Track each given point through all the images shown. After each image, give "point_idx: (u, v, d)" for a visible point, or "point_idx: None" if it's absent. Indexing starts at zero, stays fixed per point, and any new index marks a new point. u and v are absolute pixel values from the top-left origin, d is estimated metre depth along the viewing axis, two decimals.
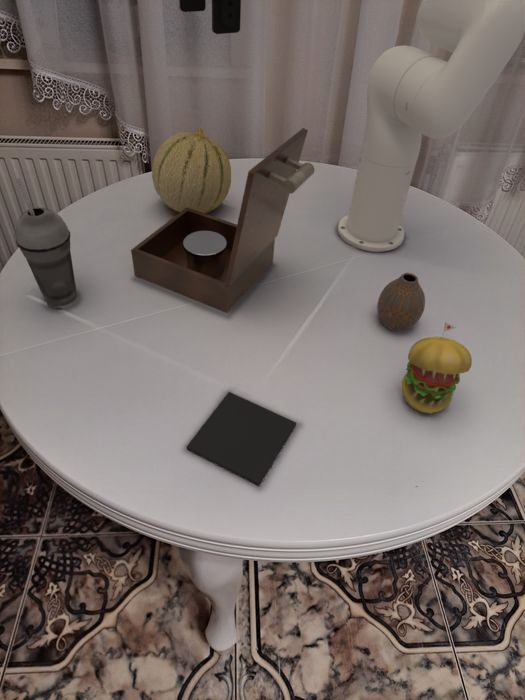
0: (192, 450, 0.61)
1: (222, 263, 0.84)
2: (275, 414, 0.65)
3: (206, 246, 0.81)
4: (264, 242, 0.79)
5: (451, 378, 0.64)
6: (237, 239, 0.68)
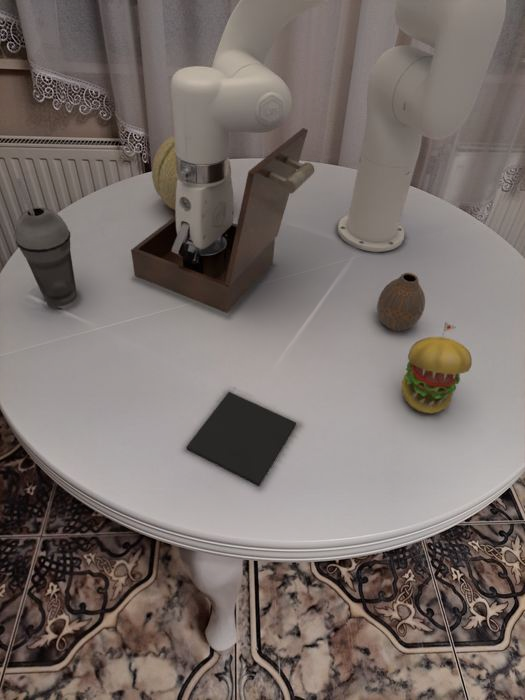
0: (192, 450, 0.61)
1: (222, 263, 0.84)
2: (275, 414, 0.65)
3: None
4: (264, 242, 0.79)
5: (451, 378, 0.64)
6: (237, 239, 0.68)
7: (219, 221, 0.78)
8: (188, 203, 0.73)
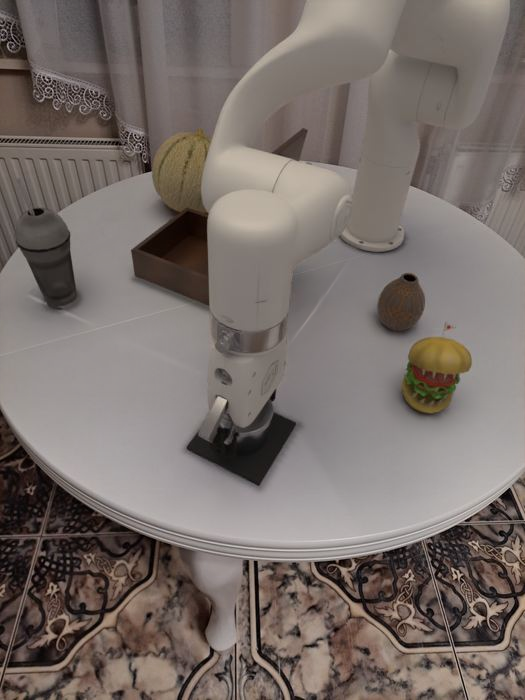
0: (192, 450, 0.61)
1: (266, 432, 0.61)
2: (275, 414, 0.65)
3: None
4: None
5: (451, 378, 0.64)
6: None
7: (268, 384, 0.54)
8: (228, 375, 0.49)
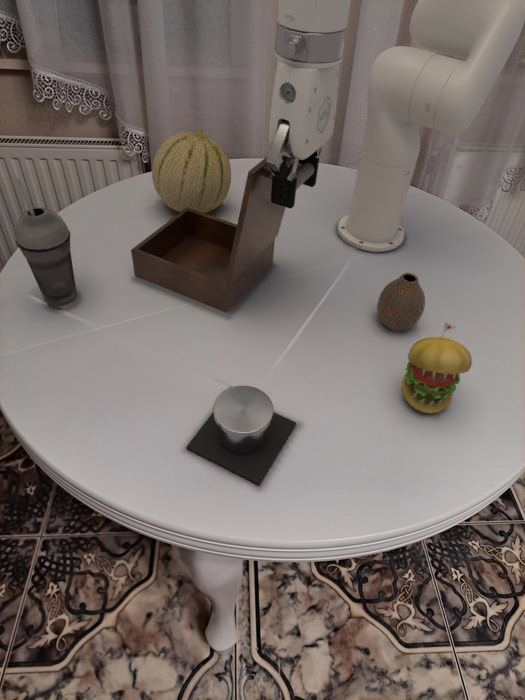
0: (192, 450, 0.61)
1: (266, 432, 0.61)
2: (275, 414, 0.65)
3: (246, 416, 0.58)
4: (264, 242, 0.79)
5: (451, 378, 0.64)
6: (237, 239, 0.68)
7: (322, 125, 0.61)
8: (291, 92, 0.56)
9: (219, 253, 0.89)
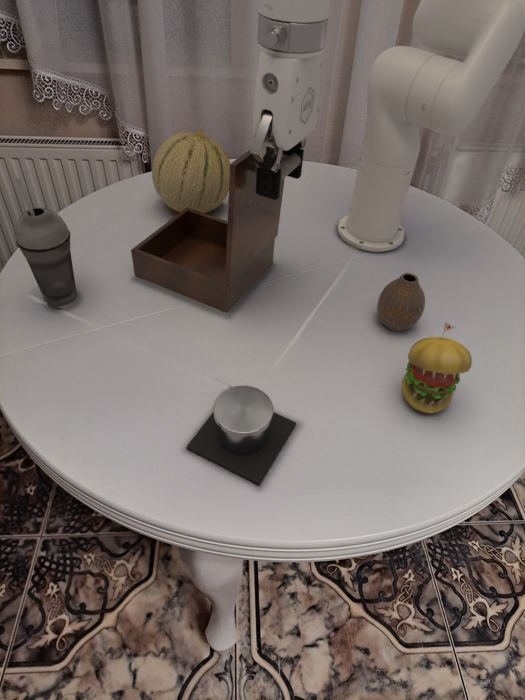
0: (192, 450, 0.61)
1: (266, 432, 0.61)
2: (275, 414, 0.65)
3: (246, 416, 0.58)
4: (263, 241, 0.79)
5: (451, 378, 0.64)
6: (230, 236, 0.68)
7: (305, 116, 0.61)
8: (274, 83, 0.56)
9: (219, 253, 0.89)
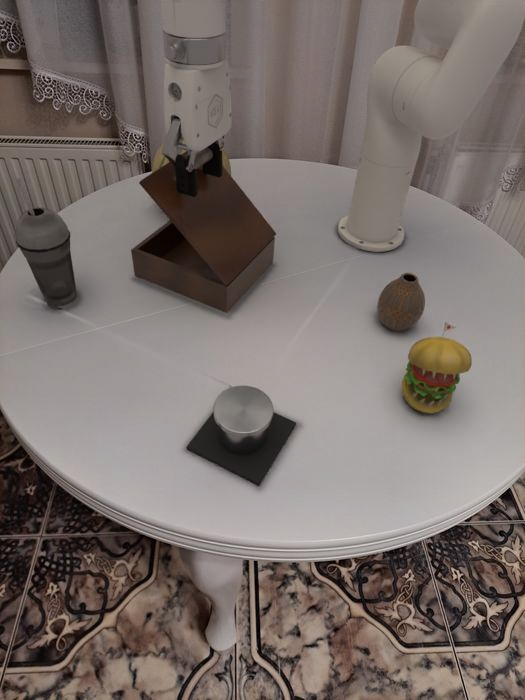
0: (192, 450, 0.61)
1: (266, 432, 0.61)
2: (275, 414, 0.65)
3: (246, 416, 0.58)
4: (253, 240, 0.80)
5: (451, 378, 0.64)
6: (188, 238, 0.72)
7: (215, 120, 0.67)
8: (178, 91, 0.62)
9: None
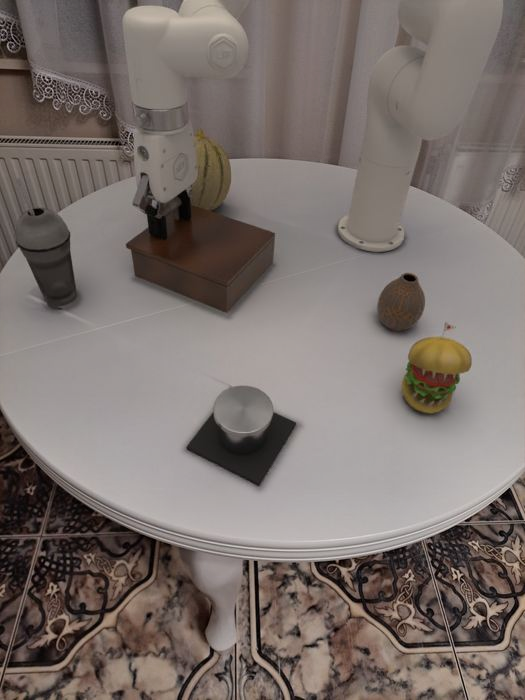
0: (192, 450, 0.61)
1: (266, 432, 0.61)
2: (275, 414, 0.65)
3: (246, 416, 0.58)
4: (248, 245, 0.81)
5: (451, 378, 0.64)
6: (179, 265, 0.77)
7: (181, 174, 0.76)
8: (146, 152, 0.71)
9: None
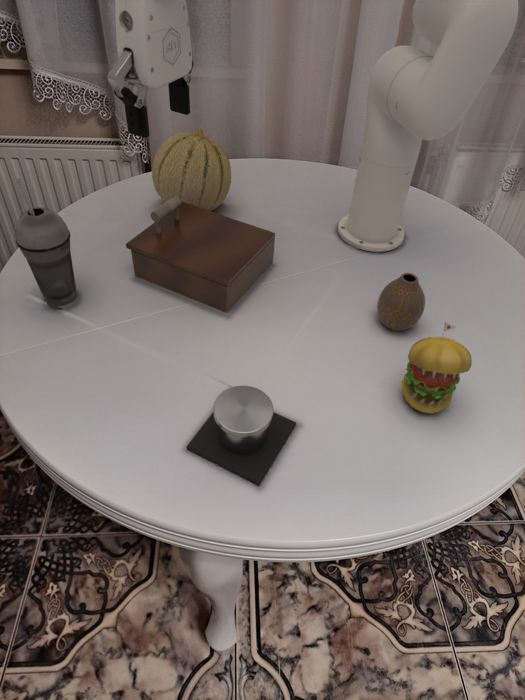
0: (192, 450, 0.61)
1: (266, 432, 0.61)
2: (275, 414, 0.65)
3: (246, 416, 0.58)
4: (248, 245, 0.81)
5: (451, 378, 0.64)
6: (179, 265, 0.77)
7: (172, 57, 0.65)
8: (130, 20, 0.59)
9: None
